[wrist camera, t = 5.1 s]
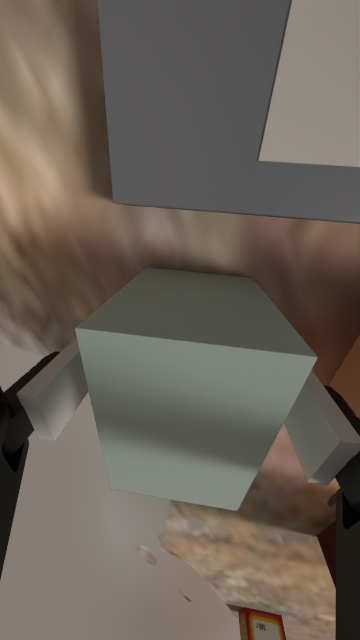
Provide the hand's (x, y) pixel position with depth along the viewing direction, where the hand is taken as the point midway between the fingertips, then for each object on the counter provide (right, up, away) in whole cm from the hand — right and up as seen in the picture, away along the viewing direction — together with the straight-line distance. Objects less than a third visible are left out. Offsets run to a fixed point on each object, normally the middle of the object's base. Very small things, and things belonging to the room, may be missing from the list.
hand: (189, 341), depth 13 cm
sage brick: (0, 0, 0) cm, 0 cm away
